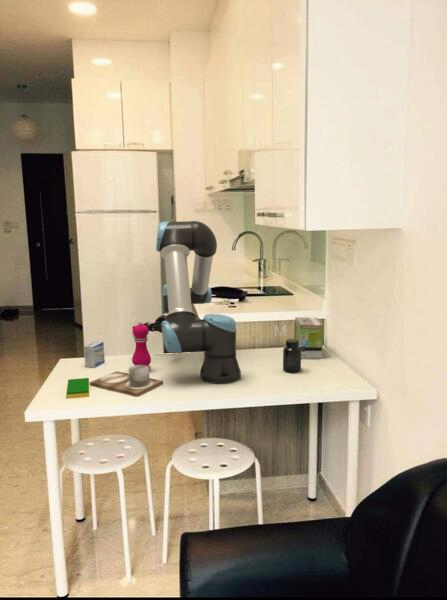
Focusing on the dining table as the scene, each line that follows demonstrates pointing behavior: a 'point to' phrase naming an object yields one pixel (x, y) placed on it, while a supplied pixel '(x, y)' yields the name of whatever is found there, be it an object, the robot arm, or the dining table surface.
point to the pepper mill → (141, 345)
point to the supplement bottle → (292, 356)
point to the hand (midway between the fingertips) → (149, 335)
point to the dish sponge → (78, 388)
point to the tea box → (309, 337)
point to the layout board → (128, 381)
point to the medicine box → (94, 354)
